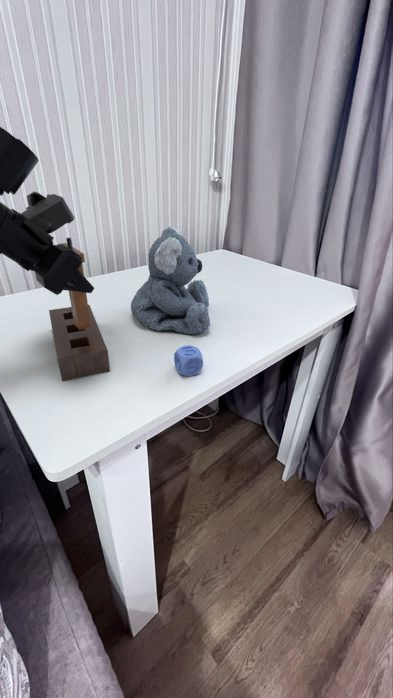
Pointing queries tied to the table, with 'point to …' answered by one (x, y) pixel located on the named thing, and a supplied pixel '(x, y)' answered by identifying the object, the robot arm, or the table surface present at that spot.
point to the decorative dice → (188, 360)
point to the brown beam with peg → (79, 298)
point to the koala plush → (172, 288)
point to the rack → (78, 346)
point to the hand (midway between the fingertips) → (84, 284)
